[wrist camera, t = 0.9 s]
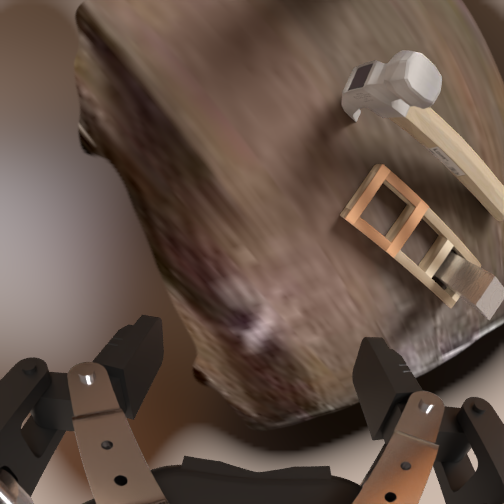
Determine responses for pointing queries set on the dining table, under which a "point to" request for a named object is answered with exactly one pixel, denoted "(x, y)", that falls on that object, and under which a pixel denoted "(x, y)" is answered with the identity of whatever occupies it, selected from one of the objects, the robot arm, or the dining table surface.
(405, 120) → the hammer
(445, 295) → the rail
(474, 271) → the steel peg
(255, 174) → the dining table surface
